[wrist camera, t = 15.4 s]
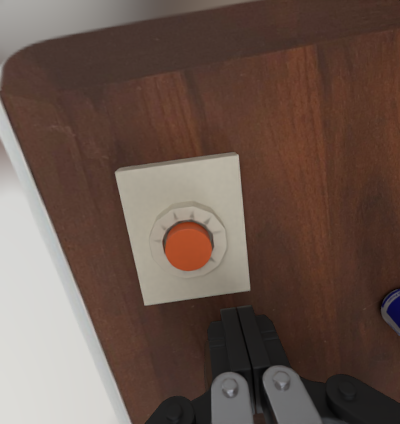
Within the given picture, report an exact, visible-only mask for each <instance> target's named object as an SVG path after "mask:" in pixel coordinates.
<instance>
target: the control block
mask: <svg viewBox="0 0 400 424" xmlns="http://www.w3.org/2000/svg"><path fill="white" fill-rule="evenodd" d="M115 175H116V180H117V184H118V189H119V193H120V198H121V202H122V207H123V211H124V215H125V220H126V224H127V229H128V233H129V238H130V242H131V247H132V251H133V256H134V260H135V264H136V269H137V273H138V278H139V282H140V287H141V291H142V296H143V300H144V304H145V306H146V305H153V304H160V303H167V302H174V301H181V300H188V299H194V298H201V297H208V296H215V295H222V294H229V293H236V292H243V291H250V280H249V268H248V257H247V246H246V234H245V223H244V211H243V200H242V189H241V177H240V166H239V155H238V154H236V153H235V152H230V153H223V154H215V155H208V156H201V157H194V158H187V159H179V160H172V161H165V162H158V163H151V164H144V165H136V166H129V167H122V168H119V169H118V170H117V171H116V172H115ZM183 222H194V223H197V224H199V225H201V226H202V227H204V228H205V229H206V231H207V232H208V234H209V236H210V241H211V245H212V253H211V257H210V259H209V261H208V262H207V263H206V264H205V265H204V266H203V267H201V268H199V269H197V270H193V271H183V270H180V269H177V268H175V267H174V266H173V265H172V264H171V263H170V262H169V261H168V259H167V257H166V254H165V246H166V239H167V235H168V233H169V232H170V230H171V229H172V228H173V227H174V226H176V225H178V224H180V223H183Z"/></svg>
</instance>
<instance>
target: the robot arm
mask: <svg viewBox="0 0 400 424" xmlns="http://www.w3.org/2000/svg"><path fill="white" fill-rule="evenodd" d="M220 311H221V320H222V321H215V322H211V323H210V326H209V328H208V330H207V331H208V341H209V351H210V360H211V370H212V383H211V385H210V387H209V389H208V390H207V391H206V392H205V393H204V394H203V395H202V396H200V397H198V398H196V399H194V400H192V401H190V400H189V399H187V398H185V397H182V396H173V397H170V398H168V399H166V400H165V401H163V402H162V403H161V404H160V405H159V407H158V408H157V409H156V410H155V412H154V413H153V414H152V415H151V416H150V418H149V419H148V420H147V421H146V423H145V424H254V420H253V414H255V408H256V412H257V414H259V413H263V414H264V418H265V422H266V424H400V403H398V402H396V401H395V400H393V399H391V398H389V397H388V396H386V395H384V394H382V393H381V392H379V391H377V390H375V389H374V388H372V387H370V386H368V385H366V384H365V383H363V382H361V381H359V380H358V379H356V378H354V377H352V376H349V375H344V374H337V375H333V376H331V377H330V378H329V379H328V380H327V382H326V383H321V382H314V381H309V380H307V379H304V378H302V377H300V376H299V375H298V374H297V373H296V372H295V371H294V370H293V369H292V368H291V366H290V364H289V361H288V359H287V356H286V354H285V351H284V349H283V347H282V344H281V342H280V339H279V337H278V335H277V332H276V330H275V327H274V325H273V323H272V321H271V320H270V319H269V318H268V317H267V316H265V315H258V316H255V313H254V310H253V307H252V305H248V306H241V307H236V308H235V307H234V308H226V309H220ZM254 404H255V406H254Z"/></svg>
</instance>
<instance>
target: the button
mask: <svg viewBox="0 0 400 424" xmlns="http://www.w3.org/2000/svg"><path fill="white" fill-rule="evenodd" d="M211 253H212V245H211V241H210V236H209V234H208V232H207V231H206V229H205V228H204V227H202V226H201V225H199V224H197V223H194V222H183V223H180V224H178V225H176V226H174V227H173V228H172V229H171V230H170V232H169V233H168V235H167V239H166V246H165V254H166V257H167V259H168V261H169V262H170V263H171V264H172V265H173V266H174V267H175V268H177V269H180V270H183V271H193V270H197V269H199V268H201V267H203V266H204V265H205V264H206V263H207V262H208V261H209V259H210V257H211Z"/></svg>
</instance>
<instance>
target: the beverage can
mask: <svg viewBox="0 0 400 424" xmlns="http://www.w3.org/2000/svg"><path fill="white" fill-rule="evenodd" d="M381 314H382V317H383V319H384V320H385V321H386V322H387V323H388V324H389V325H390V327H391V328H392V329H393V330H394V331H395V332H396V333H397V334H398V335H399V336H400V289H396V290H394V291H392V292H390V293H389V294H388V295H387V296H386V297H385V298H384V300H383V303H382V306H381Z"/></svg>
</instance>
